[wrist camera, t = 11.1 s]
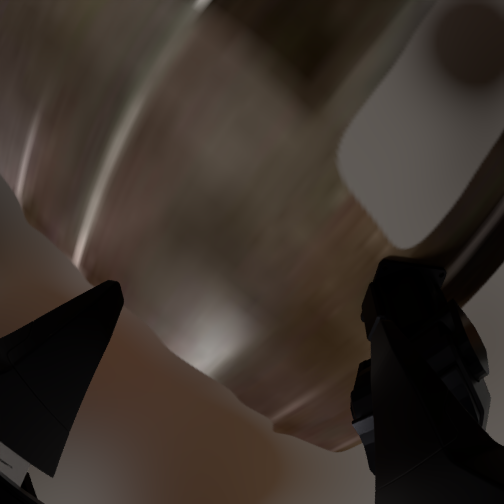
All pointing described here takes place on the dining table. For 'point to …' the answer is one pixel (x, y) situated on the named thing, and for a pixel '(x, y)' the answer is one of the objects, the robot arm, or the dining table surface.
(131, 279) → the dining table surface
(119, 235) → the dining table surface
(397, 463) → the robot arm
